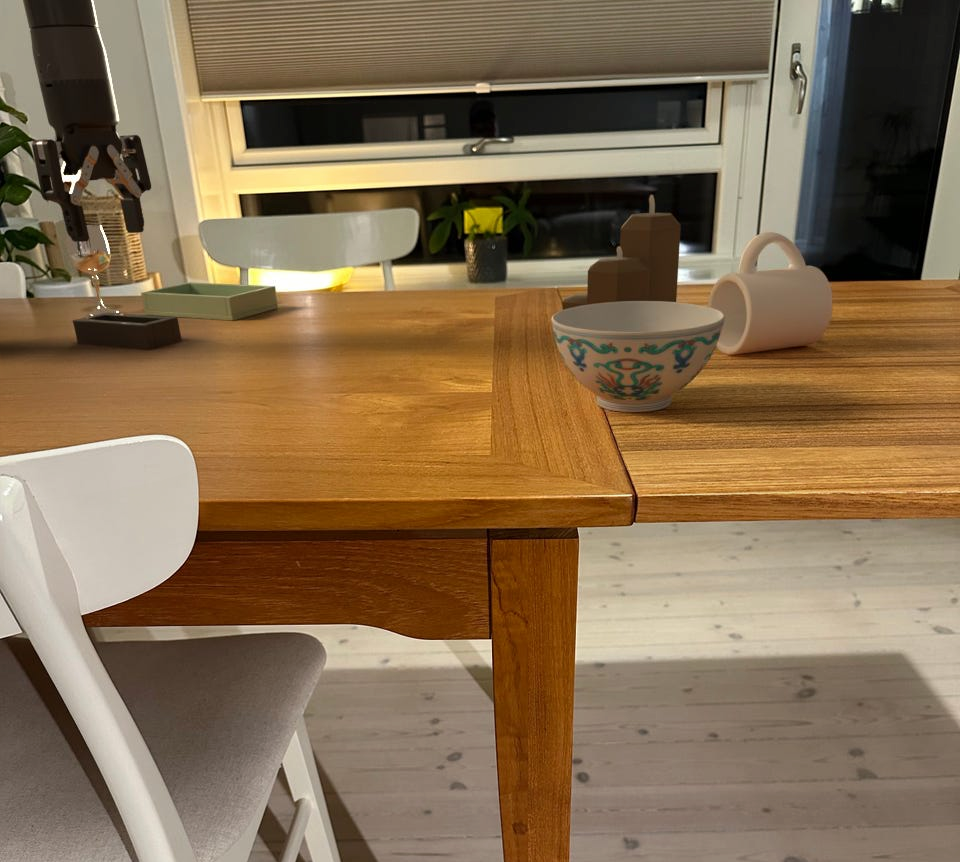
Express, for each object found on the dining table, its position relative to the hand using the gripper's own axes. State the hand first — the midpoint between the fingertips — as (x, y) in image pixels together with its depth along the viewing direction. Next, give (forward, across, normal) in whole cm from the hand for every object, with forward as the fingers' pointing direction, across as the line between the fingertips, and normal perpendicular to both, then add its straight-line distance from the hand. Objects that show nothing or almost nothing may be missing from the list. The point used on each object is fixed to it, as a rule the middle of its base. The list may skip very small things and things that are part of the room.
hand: (108, 236), depth 113 cm
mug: (+14, -22, +73) cm, 77 cm away
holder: (+13, -24, -8) cm, 28 cm away
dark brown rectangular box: (+13, 0, 0) cm, 13 cm away
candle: (+14, -27, +55) cm, 63 cm away
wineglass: (+13, -18, -24) cm, 33 cm away
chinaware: (+13, +4, +67) cm, 68 cm away
